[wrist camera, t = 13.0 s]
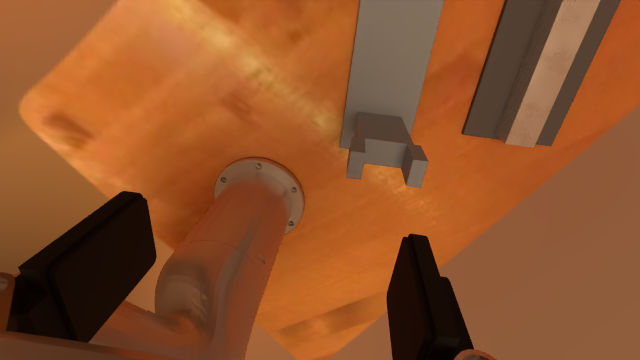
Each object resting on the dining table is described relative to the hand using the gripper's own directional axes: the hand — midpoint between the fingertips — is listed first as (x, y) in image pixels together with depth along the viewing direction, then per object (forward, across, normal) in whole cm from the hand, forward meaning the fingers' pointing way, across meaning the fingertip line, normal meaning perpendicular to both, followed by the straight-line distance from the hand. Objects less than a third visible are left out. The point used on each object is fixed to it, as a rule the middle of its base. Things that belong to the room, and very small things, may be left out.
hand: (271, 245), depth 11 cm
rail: (+28, -21, -10) cm, 36 cm away
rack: (+28, -6, -6) cm, 29 cm away
